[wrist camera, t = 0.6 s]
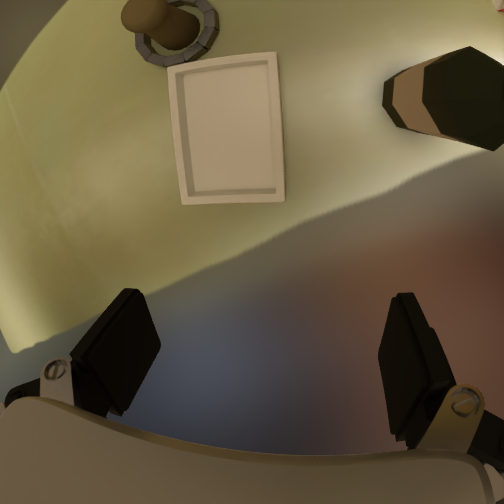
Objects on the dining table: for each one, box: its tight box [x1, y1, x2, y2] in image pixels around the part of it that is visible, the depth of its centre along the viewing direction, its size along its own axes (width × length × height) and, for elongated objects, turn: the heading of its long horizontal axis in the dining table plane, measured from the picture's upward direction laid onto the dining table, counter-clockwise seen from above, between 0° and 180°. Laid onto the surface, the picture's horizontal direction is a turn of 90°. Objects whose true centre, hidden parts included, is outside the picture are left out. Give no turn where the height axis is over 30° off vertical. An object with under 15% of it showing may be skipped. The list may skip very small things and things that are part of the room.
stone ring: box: [135, 0, 219, 67], centre depth 27 cm, size 11×11×2 cm
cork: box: [121, 0, 200, 50], centre depth 23 cm, size 6×6×11 cm
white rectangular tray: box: [167, 52, 286, 205], centre depth 32 cm, size 18×13×3 cm
